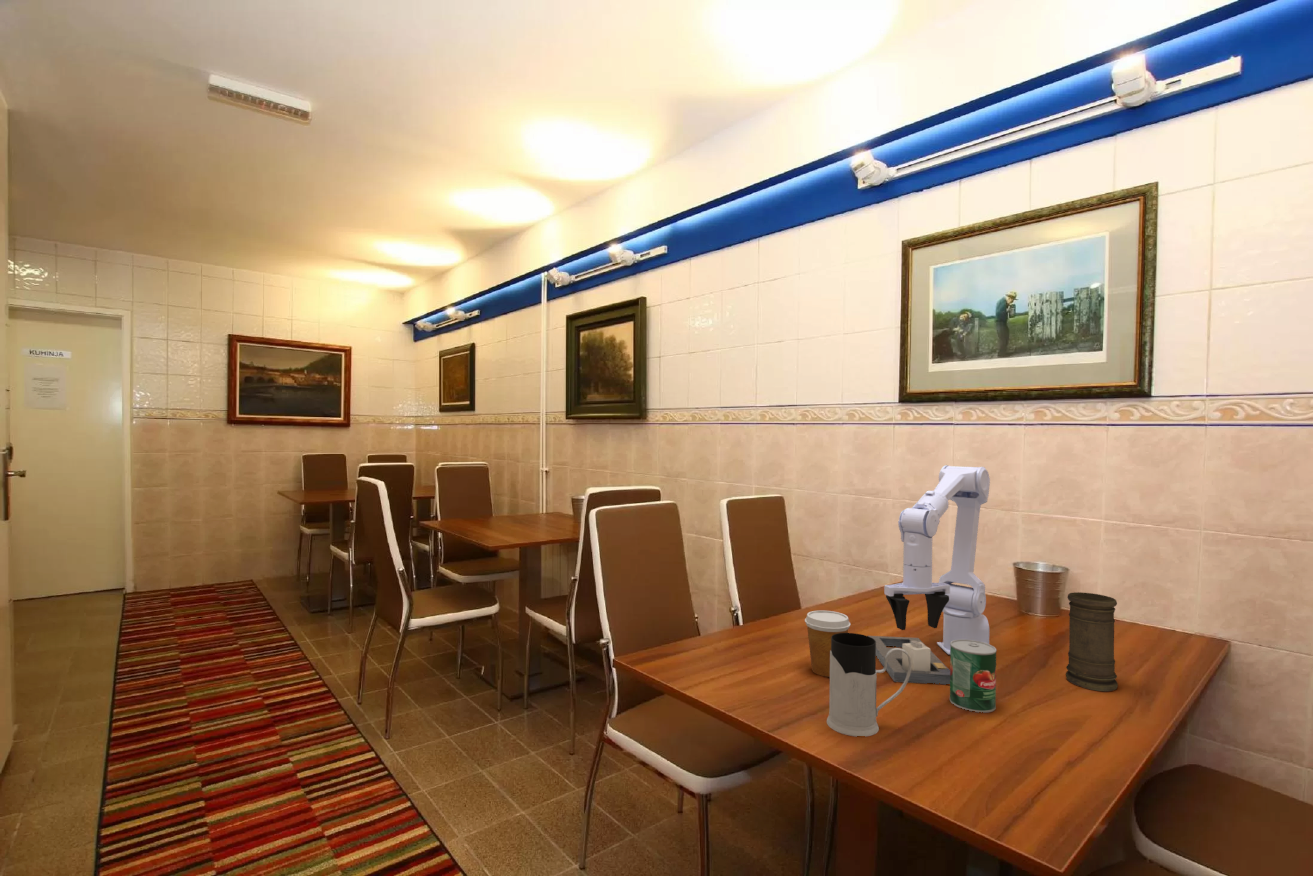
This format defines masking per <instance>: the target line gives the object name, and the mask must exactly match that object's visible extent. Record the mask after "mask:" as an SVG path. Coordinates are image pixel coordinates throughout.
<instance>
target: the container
mask: <svg viewBox="0 0 1313 876" xmlns="http://www.w3.org/2000/svg"><path fill="white" fill-rule="evenodd" d="M1067 599H1068V601H1069V602H1068V605H1069V613H1068V616H1069V621H1068V622H1069V626H1068V627H1069V628H1068V629H1069V638H1068V639H1069V643H1068V645H1069V646H1068V653H1067V655H1068V664H1067V665H1066V667H1065V668H1066V670H1067V671H1066V672H1065V677H1066V680H1067V681H1068V683H1069V682H1070V684H1071V683H1072V684H1073V685H1074V686H1077V687H1080V688H1083V689H1087V690H1091V691H1097V692H1113V691H1115V690H1117V689H1118V686H1119V684H1118V681H1117V678H1118V676H1117V674H1116V672H1115V664H1116V660H1115V622H1116V620H1115V611H1116V608H1115V607H1116V606H1117V605H1118V602H1117V599H1115V598H1114V597H1112V596H1108V595H1103V594H1099V593H1092V592H1082V591H1080V592H1079V591H1077V592H1075V591H1073V592H1070V593H1068V595H1067Z"/></svg>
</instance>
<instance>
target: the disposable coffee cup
mask: <svg viewBox="0 0 1313 876" xmlns="http://www.w3.org/2000/svg"><path fill="white" fill-rule="evenodd" d="M804 622H805V625H806V627H807V636H808V637H807V638H808V645H809V655H810V664H811V672H813V673H814V674H815V675H818V676H820V677H821V676H822V677H828V678H830V651H831V637H832V635H834V634H838V633H849V629H850V626H851V622H850V619H849V616H848V615H846V614H844V613H841V612H839V611H833V610H832V611H831V610H813V611H809V612H807V613H806V618H804Z"/></svg>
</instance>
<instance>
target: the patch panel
mask: <svg viewBox="0 0 1313 876" xmlns="http://www.w3.org/2000/svg"><path fill="white" fill-rule="evenodd" d="M868 636H869V637H871V638H873V639H874V640H875V641H876V656H877V657H876V659H877V660H878V659H879V660H878V661H879V663H880V664H881V665H882V667H883V668H884V660H885V656H886V654H887V653H888V651H890V650H891V649H894V648H900V649H902V644H904V643H910V641H914V640H916V641H917V642H919V643H921V644H923V645H924V646H926V647H928V646H927V645H926V644H925V643H924V642H923V641H922V640H921V639H920V638H919V637H909V636H908V637H907V636H906V637H903V636H881V635H868ZM886 646H893V647H886ZM894 646H896V647H894ZM886 672H887V674H888V675H889V677H890V678H891V679H892V681H893V682H895V683H904V681H905V679H906V676H907V673H908V670H904V669H903V667H902V651H894V652H892V653H891V654H890V655H889V657H888V660H887V668H886ZM908 683H912V684H927V683H933V685H946V684H950V668H948V667H947V666H946V665H945V664H944V663H943V661H942V660H940V659H939V657H937V655H936V654H935V653H934V652H933V651H932V650H931V651H930V671H912V670H911V673H910V677H909V680H908V682H907V684H908ZM934 683H935V684H934ZM939 683H940V684H939Z"/></svg>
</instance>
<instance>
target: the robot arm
mask: <svg viewBox="0 0 1313 876" xmlns="http://www.w3.org/2000/svg"><path fill="white" fill-rule="evenodd" d="M990 484H991V477H990V475H989V471H988V470H987V469H986V467H985V466H957V465H955V466H954V465H947V464H946V465H943V466H942V467H941V469H940V470H939V473H938V484H937V485H936V486H935V488H934V489H933V490H927V491H925V493H924V494H923V495H922V496H921V497H920V498H919V499H918V500H917V501H916V502H915V504H913V506H912V507H907V508H905V509H903V510H902V511H901V512H900V514H899V517H898V522H897V523H898V529H899V533H900V540H901V542H902V543H903V549H902V550H903V551H902V552H903V556H902V557H903V561H902V562H903V566H902V568H903V569H902V570H903V571H902V572H903V573H902V576H903V577H902V582H899V583H894V584H893V583H892V584H885V585H884V589H883V590H884V595H885V598H886V600H887V602H888V603H889V605H890V609H891V610H892V613H893V616H894V621H895V625H896V628H897V629H898V630H901V631H906V628H907V627H906V626H907V612H908V607H909V604H910V601H911V600H909V599H907V598H906V597H905V596H907V595H924V596H925V597H924V598H925V601H926V608H927V626H929V628H930V627H931V628H933V629H937V628H938V625H939V621H940V619H941V616H942V613H943V625H942V626H943V631H942V633H943V634H942V638H943V639H942V642H941V641H939V642H938V641H937V642H936V644H937V646H939V648H940V649H942V650H943V651H944V652H945V653H946V654H947V655H949V656H950V655H951V654H950V650H951V645H950V643H951V642H952V641H954V640H974V641H980V642H984V643H987V644H990V625H989V620H988V618H987V616H986V615H984V612H985V609H986V605H987V596H986V584H985V583H984V582H983V581H982V580H981V579H980V578H979V577H978V576H977V575H976V574H975V573H974V571H975V563H976V560H975V559H976V549H977V541H978V532H979V524H980V523H979V522H980V521H979V520H980V511H981V506H982V505H983V504H986V503H988V500H989V496H990V495H989V494H990V493H989V492H990ZM949 500H950V501H951V502H954V504H956V506H957V508H956V519H955V528H954V529H955V530H954V537H953V538H954V539H953V547H952V556H951V566H950V570H949V571H947V572H946V573H943V574H942V575H940V577H939V579H938V582H933V537H934V536H935V535H937V532H938V527H939V525H940V522H941V521H940V520H941V518H942V517H943V515H944V514H945V513H946V512H947V510H948V509H949V506H950V505H949ZM956 583H957V584H956ZM959 584H961V585H959ZM962 584H963V585H962ZM965 585H968V586H965ZM970 586H971V587H970ZM904 595H905V596H904Z"/></svg>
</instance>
